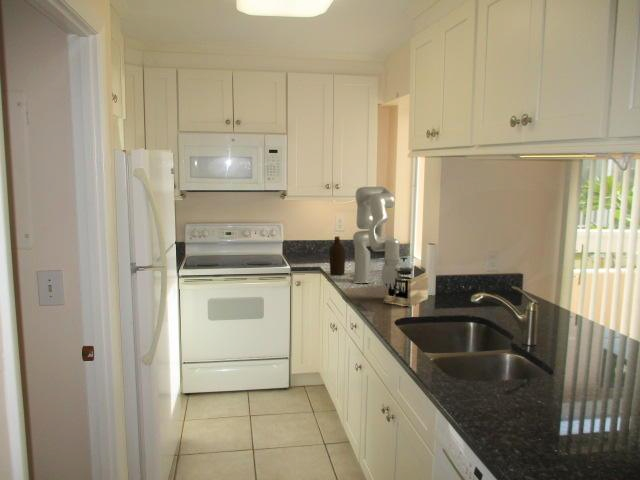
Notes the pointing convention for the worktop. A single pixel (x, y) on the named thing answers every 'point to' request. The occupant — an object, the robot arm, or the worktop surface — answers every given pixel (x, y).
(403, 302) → the shelf bay
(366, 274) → the robot arm
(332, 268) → the olive oil
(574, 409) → the worktop surface
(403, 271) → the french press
